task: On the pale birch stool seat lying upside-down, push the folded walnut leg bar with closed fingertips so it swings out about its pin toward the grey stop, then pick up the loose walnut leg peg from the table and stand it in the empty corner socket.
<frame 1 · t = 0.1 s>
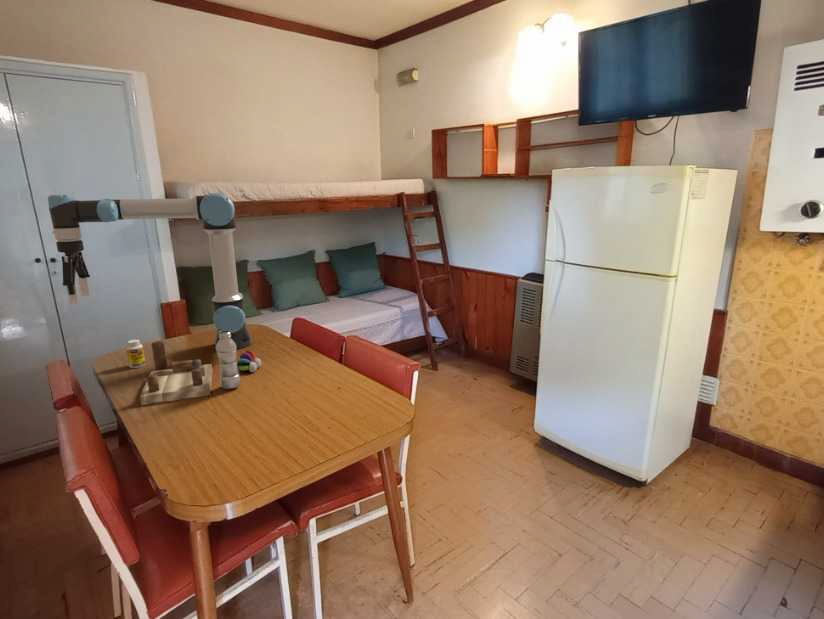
hand: (80, 299, 166), 28 cm above the table, fingers open, 13 cm apart
loose leg: (161, 370, 173), on the table
plastic bottle: (231, 387, 158), on the table
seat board: (180, 386, 159), on the table
supplement bottle: (137, 366, 178), on the table
multicoloured ball: (248, 370, 174), on the table
folding leg: (187, 365, 165), point 5 cm above the table, hinge at 0.0°
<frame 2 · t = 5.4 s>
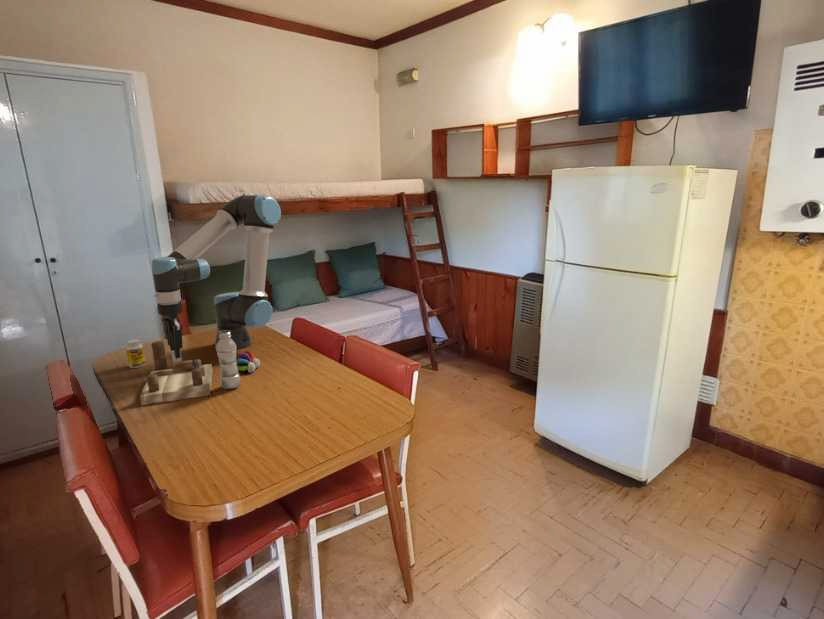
hand: (177, 365, 166), 5 cm above the table, fingers closed
folding leg: (187, 365, 165), point 5 cm above the table, hinge at 3.1°, touching gripper
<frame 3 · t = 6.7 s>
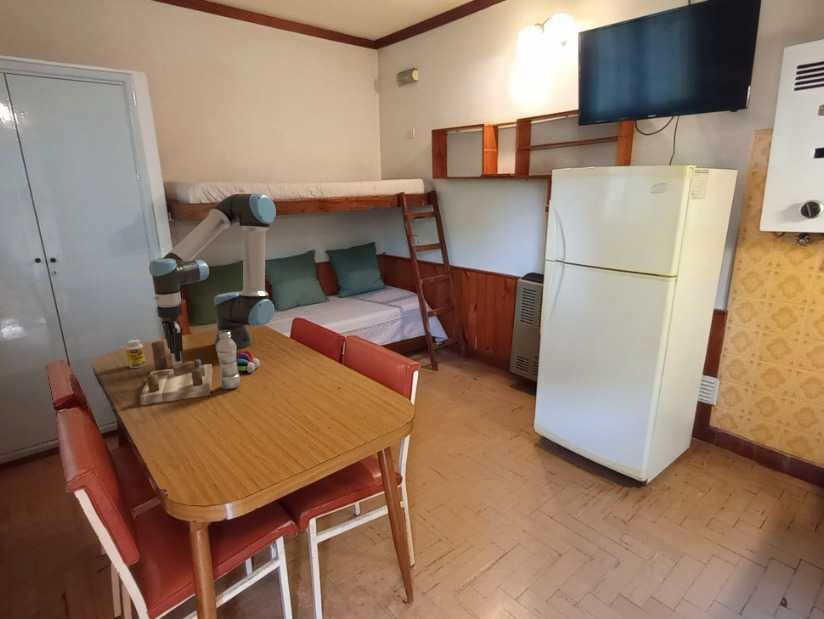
hand: (178, 368, 163), 4 cm above the table, fingers closed
folding leg: (188, 367, 163), point 5 cm above the table, hinge at 31.5°, touching gripper
everything else where it was.
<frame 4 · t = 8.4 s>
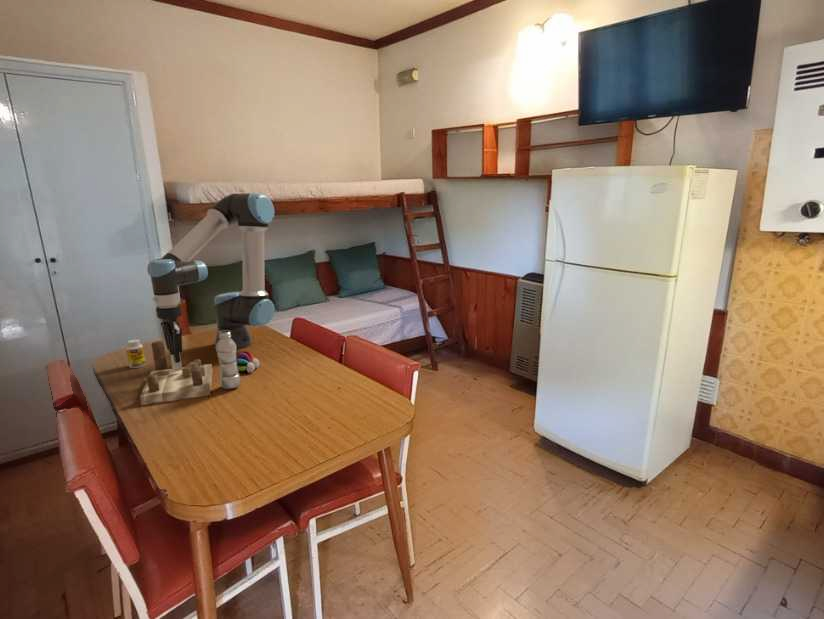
hand: (177, 370, 162), 4 cm above the table, fingers closed
folding leg: (192, 367, 163), point 5 cm above the table, hinge at 67.5°
everything else where it was.
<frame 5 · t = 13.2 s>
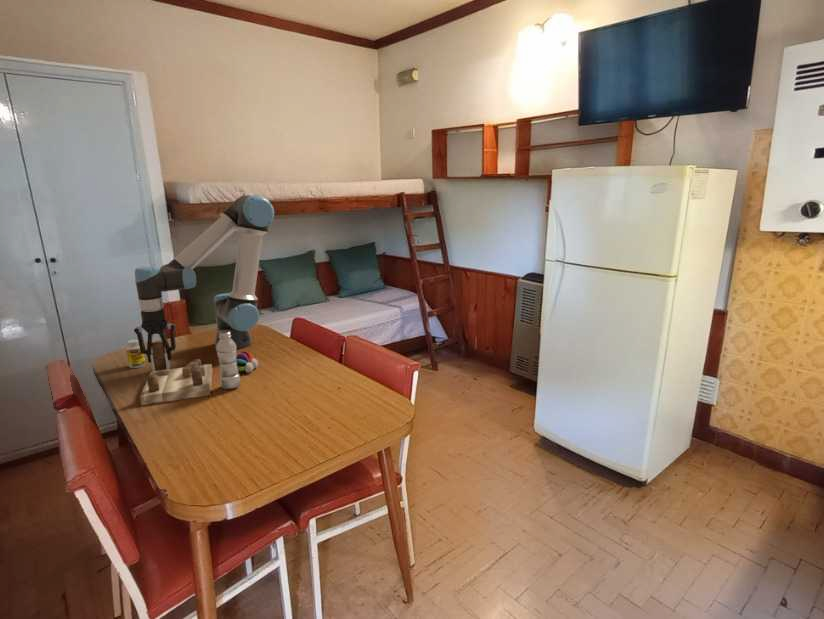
hand: (161, 369, 173), 1 cm above the table, fingers closed on loose leg, 4 cm apart
loose leg: (161, 370, 173), on the table, touching gripper
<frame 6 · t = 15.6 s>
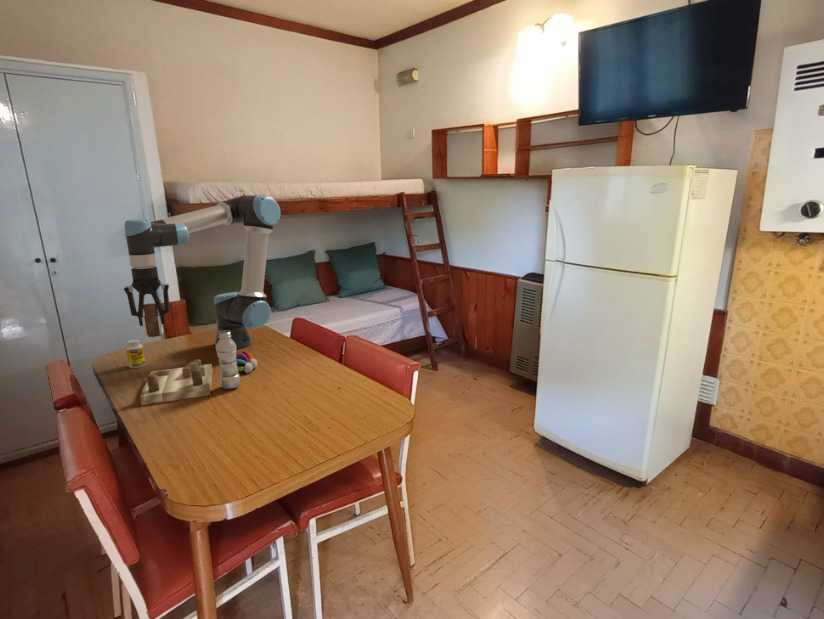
hand: (154, 333, 159), 18 cm above the table, fingers closed on loose leg, 4 cm apart
loose leg: (154, 335, 159), point 17 cm above the table, touching gripper
when the fingers open (5 cm above the table, at t = 18.1 s): loose leg drops 4 cm, resting on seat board.
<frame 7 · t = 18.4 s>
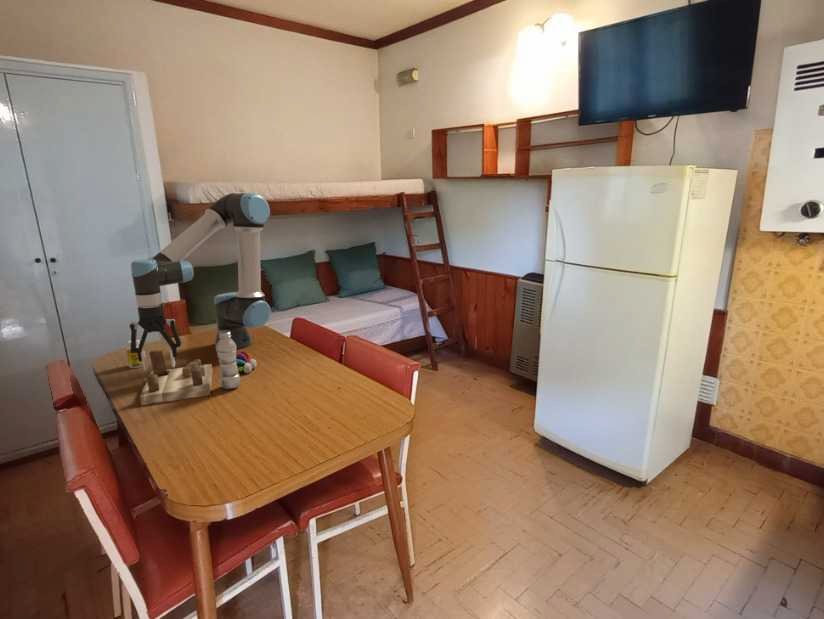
hand: (159, 367, 162), 5 cm above the table, fingers open, 8 cm apart
loose leg: (162, 380, 163), resting on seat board
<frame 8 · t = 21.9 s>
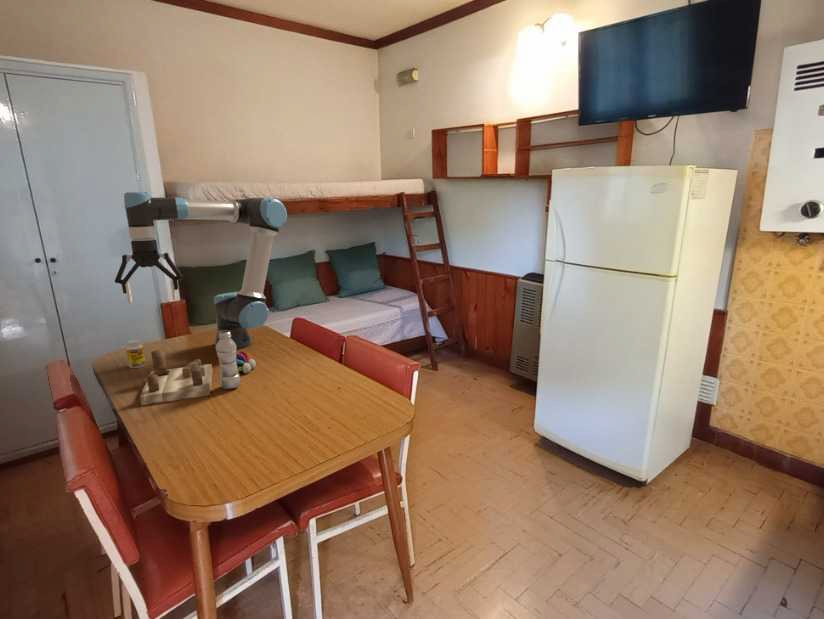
hand: (153, 300, 159), 29 cm above the table, fingers open, 13 cm apart
at the end: folding leg at +68° (first picture: +0°); loose leg 0.1 cm from the target spot on the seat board, point 0.2 cm above the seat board's base; loose leg tilted 0° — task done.
